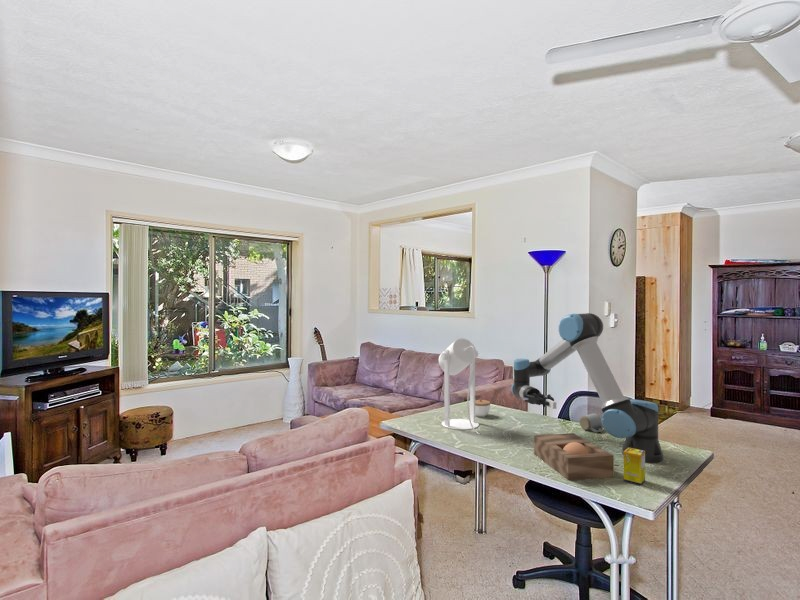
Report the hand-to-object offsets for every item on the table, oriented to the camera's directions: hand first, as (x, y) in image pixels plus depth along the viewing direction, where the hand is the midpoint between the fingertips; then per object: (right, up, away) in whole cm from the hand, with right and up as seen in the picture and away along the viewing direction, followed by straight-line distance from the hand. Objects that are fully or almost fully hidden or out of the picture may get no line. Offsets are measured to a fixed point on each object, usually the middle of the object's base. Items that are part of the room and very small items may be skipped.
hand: (554, 405), depth 197 cm
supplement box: (+19, -21, -29) cm, 40 cm away
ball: (+3, -16, -17) cm, 23 cm away
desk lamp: (-33, -20, +43) cm, 57 cm away
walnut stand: (+2, -21, -12) cm, 24 cm away
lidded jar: (-20, -20, +64) cm, 70 cm away
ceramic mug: (+30, -20, +34) cm, 50 cm away
